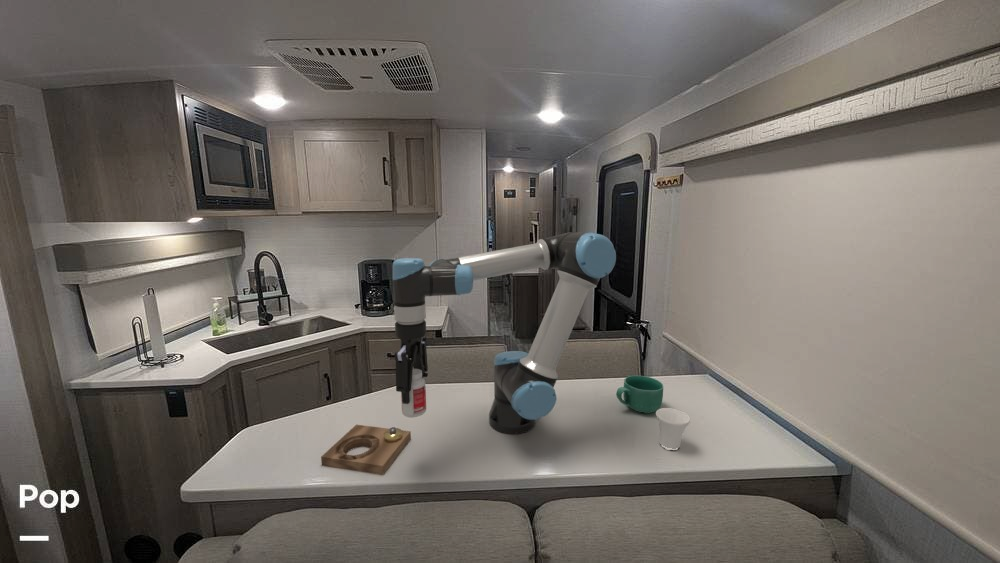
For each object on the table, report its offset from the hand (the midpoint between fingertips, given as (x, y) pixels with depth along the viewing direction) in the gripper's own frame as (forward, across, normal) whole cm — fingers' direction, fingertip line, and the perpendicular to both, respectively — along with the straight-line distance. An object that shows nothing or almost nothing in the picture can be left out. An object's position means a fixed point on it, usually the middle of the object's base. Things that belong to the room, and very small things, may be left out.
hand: (414, 406), depth 95 cm
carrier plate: (+17, -3, -16) cm, 23 cm away
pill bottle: (+2, 0, 0) cm, 2 cm away
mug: (+17, -44, +62) cm, 78 cm away
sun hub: (+14, -7, -10) cm, 19 cm away
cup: (+17, -23, +68) cm, 74 cm away
